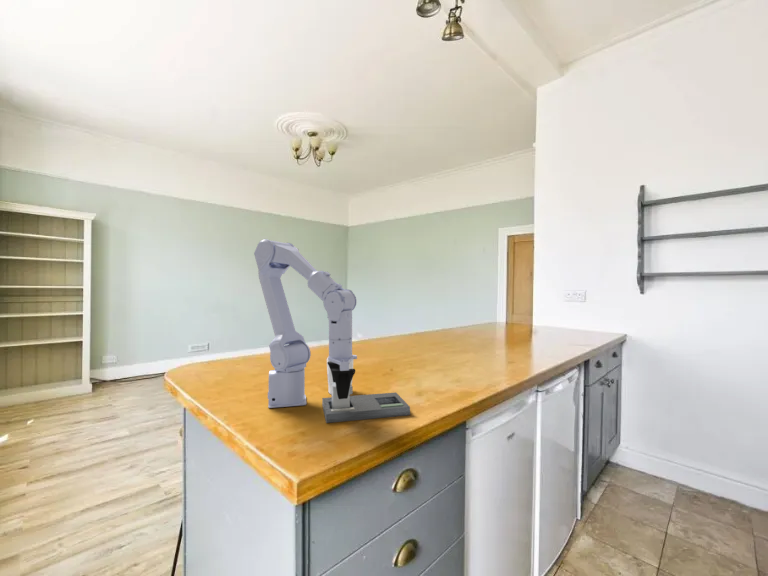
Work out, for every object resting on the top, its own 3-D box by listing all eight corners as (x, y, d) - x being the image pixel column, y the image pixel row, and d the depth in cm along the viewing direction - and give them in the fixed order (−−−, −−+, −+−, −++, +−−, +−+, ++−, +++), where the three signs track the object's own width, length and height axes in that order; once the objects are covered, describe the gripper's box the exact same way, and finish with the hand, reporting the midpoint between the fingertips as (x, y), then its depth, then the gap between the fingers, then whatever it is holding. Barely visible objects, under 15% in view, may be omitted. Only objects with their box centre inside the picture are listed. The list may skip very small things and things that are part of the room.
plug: (333, 416, 83) (333, 387, 83) (331, 410, 87) (331, 382, 87) (353, 414, 85) (353, 385, 85) (350, 408, 88) (350, 381, 88)
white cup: (327, 388, 106) (327, 355, 106) (353, 387, 107) (353, 355, 107) (325, 396, 98) (325, 361, 98) (353, 395, 99) (353, 360, 99)
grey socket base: (326, 423, 79) (326, 413, 79) (322, 405, 91) (322, 397, 91) (409, 415, 84) (409, 405, 84) (396, 399, 96) (396, 391, 96)
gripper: (361, 342, 80) (362, 401, 80) (352, 334, 94) (352, 384, 94) (330, 343, 78) (331, 404, 78) (325, 335, 92) (325, 386, 92)
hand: (340, 393), depth 86 cm, fingers open, 7 cm apart
